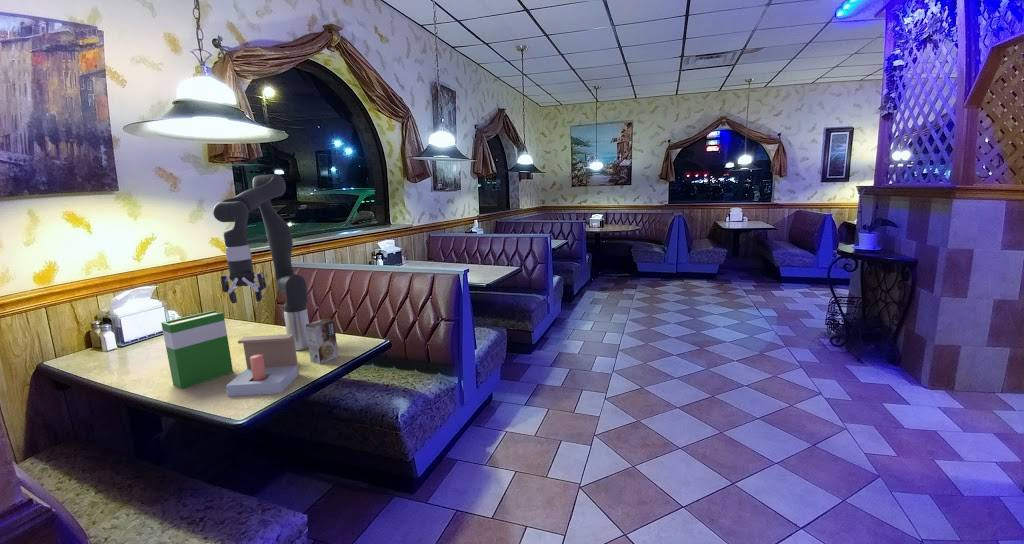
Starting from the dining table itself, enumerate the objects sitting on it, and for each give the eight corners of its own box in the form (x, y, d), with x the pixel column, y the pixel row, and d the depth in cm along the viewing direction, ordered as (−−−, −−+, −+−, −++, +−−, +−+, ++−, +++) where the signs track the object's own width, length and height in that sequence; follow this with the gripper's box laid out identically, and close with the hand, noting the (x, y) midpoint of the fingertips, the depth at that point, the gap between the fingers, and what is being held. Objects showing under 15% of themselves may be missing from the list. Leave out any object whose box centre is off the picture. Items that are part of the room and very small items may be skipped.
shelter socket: (250, 377, 175) (243, 336, 172) (299, 374, 176) (293, 334, 173) (227, 396, 159) (220, 352, 156) (281, 393, 160) (275, 349, 157)
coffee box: (328, 354, 195) (324, 317, 192) (339, 357, 192) (334, 319, 189) (309, 362, 188) (304, 324, 184) (320, 364, 184) (315, 326, 181)
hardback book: (224, 368, 185) (214, 310, 180) (233, 371, 181) (223, 312, 176) (173, 384, 171) (161, 322, 166) (181, 389, 166) (169, 325, 162)
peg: (252, 391, 162) (247, 359, 160) (258, 386, 166) (253, 354, 164) (264, 390, 163) (259, 358, 160) (269, 385, 167) (264, 354, 164)
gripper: (212, 261, 160) (221, 306, 164) (255, 258, 161) (262, 303, 165) (223, 257, 168) (231, 300, 171) (264, 255, 169) (271, 298, 172)
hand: (246, 302), depth 168 cm, fingers open, 8 cm apart
